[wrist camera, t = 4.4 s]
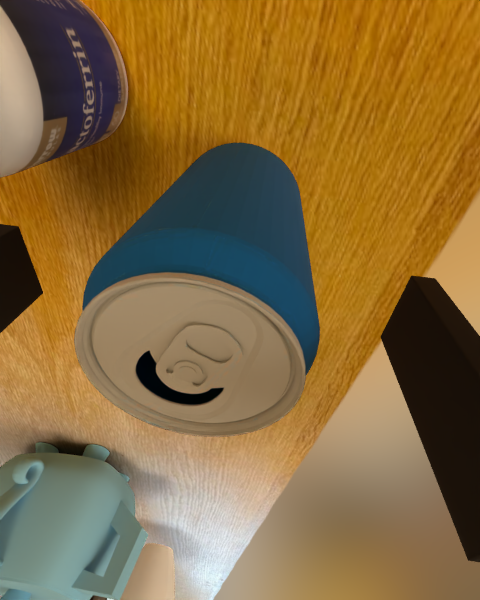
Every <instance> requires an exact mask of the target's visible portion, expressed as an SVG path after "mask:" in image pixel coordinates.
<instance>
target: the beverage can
mask: <svg viewBox="0 0 480 600" xmlns="http://www.w3.org/2000/svg"><path fill="white" fill-rule="evenodd" d="M319 336H320V327H319V320H318V313H317V306H316V300H315V293H314V286H313V279H312V273H311V266H310V259H309V252H308V246H307V239H306V232H305V225H304V218H303V212H302V205H301V198H300V192H299V188H298V185H297V182H296V180H295V178H294V176H293V174H292V173H291V171H290V170H289V168H288V167H287V166H286V165H285V163H284V162H283V161H282V160H281V159H279V158H278V157H277V156H276V155H274V154H273V153H271V152H270V151H268V150H266V149H264V148H262V147H259V146H256V145H253V144H247V143H229V144H224V145H220V146H217V147H215V148H213V149H211V150H209V151H207V152H206V153H204V154H203V155H201V156H200V157H199V158H198V159H197V160H196V161H195V162H194V163H193V164H192V165H191V166H190V167H189V168H188V169H187V170H186V171H185V172H184V173H183V174H182V175H181V176H180V177H179V178H178V179H177V180H176V181H175V182H174V184H173V185H172V186H171V187H170V188H169V189H168V190H167V191H166V192H165V193H164V194H163V195H162V196H161V197H160V198H159V199H158V200H157V201H156V202H155V203H154V204H153V205H152V206H151V207H150V208H149V209H148V210H147V211H146V212H145V213H144V214H143V216H142V217H141V218H140V219H139V220H138V221H137V222H136V223H135V224H134V225H133V226H132V227H131V228H130V229H129V230H128V231H127V232H126V233H125V234H124V235H123V236H122V237H121V238H120V239H119V240H118V241H117V242H116V243H115V244H114V245H113V246H112V248H111V249H110V250H109V251H108V252H107V253H106V254H105V255H104V256H103V257H102V258H101V259H100V261H99V262H98V263H97V264H96V266H95V267H94V269H93V271H92V273H91V275H90V277H89V279H88V281H87V285H86V288H85V292H84V298H83V312H82V314H81V316H80V318H79V320H78V323H77V326H76V329H75V338H74V343H75V351H76V354H77V358H78V361H79V363H80V365H81V367H82V370H83V371H84V373H85V374H86V376H87V378H88V379H89V381H90V382H91V383H92V384H93V385H94V387H95V388H96V389H97V390H98V391H99V392H100V393H101V394H102V395H103V396H104V397H105V398H107V399H108V400H109V401H110V402H112V403H113V404H114V405H115V406H117V407H118V408H120V409H121V410H123V411H124V412H126V413H128V414H130V415H132V416H133V417H135V418H137V419H139V420H142V421H144V422H146V423H148V424H151V425H154V426H156V427H159V428H162V429H165V430H169V431H173V432H177V433H181V434H187V435H194V436H204V437H225V436H235V435H241V434H246V433H251V432H254V431H257V430H260V429H263V428H265V427H267V426H270V425H272V424H273V423H275V422H277V421H278V420H280V419H281V418H283V417H284V416H285V415H286V414H288V413H289V412H290V411H291V410H292V408H293V407H294V406H295V405H296V403H297V402H298V400H299V399H300V397H301V394H302V392H303V389H304V385H305V379H306V375H307V373H308V372H309V370H310V368H311V366H312V364H313V362H314V359H315V357H316V354H317V349H318V344H319Z"/></svg>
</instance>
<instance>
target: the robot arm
mask: <svg viewBox="0 0 480 600" xmlns="http://www.w3.org/2000/svg"><path fill="white" fill-rule="evenodd" d="M41 294H43V291H42V288H41V285H40V283H39V280H38V277H37V275H36V272H35V269H34V267H33V264H32V261H31V259H30V256H29V253H28V251H27V248H26V245H25V243H24V240H23V237H22V234H21V232H20V229H19V226H11V225H3V224H0V333H1V332H2V331H3V330H4V329H5V328H6V327H7V326H8V325H9V324H10V323H12V322H13V321H14V320H15V319H16V318H17V317H18V316H19V315H20V314H21V313H22V312H23V311H24V310H25V309H27V308H28V307H29V306H30V305H31V304H32V303H33V302H34V301H35V300H36V299H37V298H38V297H39V296H40V295H41ZM381 339H382V342H383V344H384V347H385V350H386V352H387V355H388V356H389V360H390V362H391V365H392V367H393V370H394V372H395V375H396V377H397V380H398V383H399V385H400V388H401V390H402V393H403V395H404V398H405V401H406V403H407V405H408V408H409V411H410V413H411V416H412V418H413V421H414V423H415V426H416V428H417V431H418V433H419V436H420V438H421V441H422V444H423V446H424V449H425V451H426V454H427V457H428V459H429V461H430V464H431V467H432V469H433V472H434V474H435V477H436V479H437V482H438V485H439V487H440V490H441V492H442V495H443V497H444V500H445V502H446V505H447V508H448V510H449V513H450V515H451V518H452V520H453V523H454V525H455V528H456V530H457V533H458V536H459V538H460V541H461V543H462V546H463V548H464V551H465V554H466V556H467V559H468V560H470V561H475V562H480V336H479V335H478V333H477V332H476V331H475V330H474V328H473V327H472V326H471V324H470V323H469V322H468V320H466V318H465V317H464V315H463V314H462V313H461V311H460V310H459V309H458V307H457V306H456V305H455V304H454V302H453V301H452V300H451V298H450V297H449V296H448V295H447V293H446V292H445V291H444V289H443V288H442V287H441V286H440V284H439V283H438V282H437V280H436V279H434V278H427V277H419V276H411V277H410V279H409V281H408V283H407V285H406V287H405V289H404V291H403V293H402V295H401V297H400V299H399V301H398V303H397V305H396V307H395V309H394V311H393V313H392V315H391V317H390V319H389V321H388V323H387V325H386V327H385V329H384V331H383V333H382V335H381Z"/></svg>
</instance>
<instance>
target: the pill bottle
mask: <svg viewBox="0 0 480 600" xmlns="http://www.w3.org/2000/svg"><path fill="white" fill-rule="evenodd" d="M127 102H128V83H127V75H126V70H125V66H124V62H123V59H122V56H121V53H120V51H119V48H118V46H117V44H116V42H115V40H114V38H113V37H112V35H111V33H110V32H109V30H108V29H107V27H106V26H105V25H104V23H103V22H102V21H101V20H100V18H99V17H98V16H97V15H96V14H95V13H94V12H93V11H92V10H91V9H90V8H89V7H88V6H87V5H85V4H84V3H83V2H82V1H80V0H0V177H4V176H8V175H12V174H15V173H17V172H20V171H23V170H26V169H28V168H31V167H34V166H36V165H39V164H42V163H44V162H47V161H50V160H52V159H55V158H58V157H61V156H63V155H66V154H68V153H71V152H74V151H77V150H79V149H82V148H85V147H88V146H90V145H93V144H96V143H98V142H100V141H102V140H104V139H106V138H107V137H109V136H110V135H111V134H112V133H113V132H114V131H115V130H116V129H117V128H118V126H119V125H120V123H121V121H122V119H123V117H124V115H125V111H126V107H127Z"/></svg>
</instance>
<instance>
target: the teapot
mask: <svg viewBox="0 0 480 600" xmlns="http://www.w3.org/2000/svg"><path fill="white" fill-rule="evenodd" d="M35 447H36V453H29V454H21V455H17V456H15V457H14V458H12V459H10V460H9V461H8V462H6V463H5V464H4V465H2V466H1V467H0V595H2V597H1V599H0V600H90V599H91V597H92V596H93V595H95V596H100V597H105V598H110V599H115V600H120V598H121V596H122V594H123V592H124V589H125V587H126V585H127V582H128V580H129V578H130V576H131V573H132V571H133V569H134V566H135V564H136V562H137V560H138V557H139V555H140V553H141V550H142V548H143V546H144V544H145V541H146V539H147V537H148V534H147V533H146V531H145V530H144V529H143V527H142V526H141V525H140V523H139V522H138V521H137V520H136V518H135V497H134V493H133V491H132V489H131V487H130V486H129V484H128V483H127V482H128V481H129V480H130V479H129V477H128V476H126V475H124V474H122V473H119V472H118V471H117V470H116V469H115V468H114V467H112V466H111V465H110V464H108V463H106V462H104V461H105V460H106V458H107V457H108V456H109V454H110V453H109V451H108V450H107V449H106V448H104V447H102V446H99V445H95V444H90V445H87V446H86V448H85V451H84V453H83V455H82V456H78V455H70V454H61V453H59V451H58V449H57V448H56V447H54V446H53V445H50V444H47V443H43V442H39V443H36V445H35Z"/></svg>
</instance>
